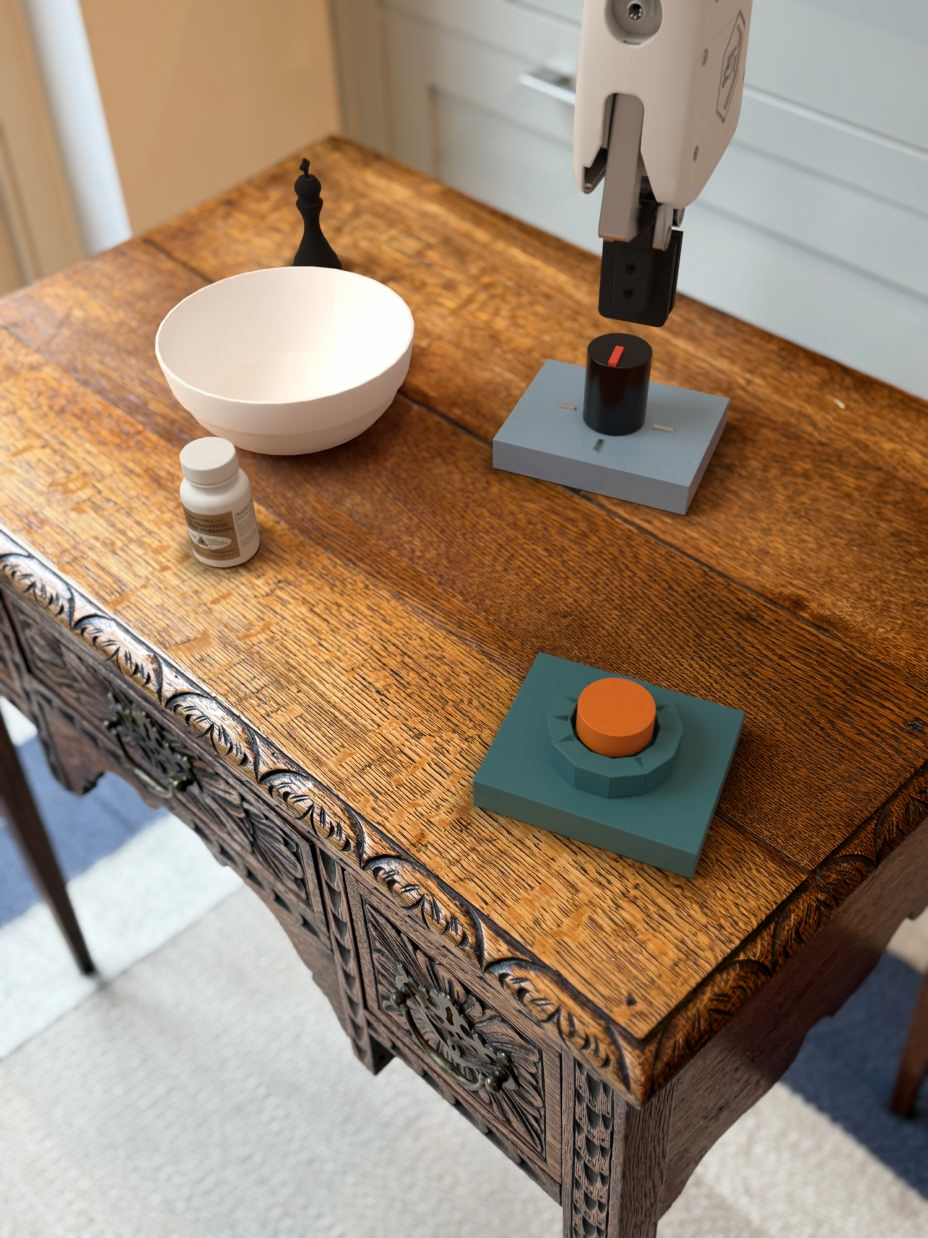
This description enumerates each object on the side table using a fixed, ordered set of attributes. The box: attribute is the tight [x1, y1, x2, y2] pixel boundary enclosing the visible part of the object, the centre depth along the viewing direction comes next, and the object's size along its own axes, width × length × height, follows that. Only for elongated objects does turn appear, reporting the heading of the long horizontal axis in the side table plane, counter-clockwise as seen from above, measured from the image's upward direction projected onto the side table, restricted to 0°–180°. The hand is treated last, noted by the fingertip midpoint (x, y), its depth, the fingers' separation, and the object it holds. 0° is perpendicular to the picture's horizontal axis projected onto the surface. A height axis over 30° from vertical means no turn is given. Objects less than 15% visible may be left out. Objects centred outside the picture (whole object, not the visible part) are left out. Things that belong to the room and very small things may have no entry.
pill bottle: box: [179, 436, 261, 568], centre depth 75 cm, size 4×4×8 cm
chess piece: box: [291, 157, 343, 270], centre depth 100 cm, size 4×4×10 cm
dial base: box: [492, 358, 731, 516], centre depth 84 cm, size 14×11×3 cm
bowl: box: [154, 266, 416, 456], centre depth 86 cm, size 18×18×7 cm
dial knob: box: [583, 332, 654, 436], centre depth 81 cm, size 4×4×6 cm
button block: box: [472, 651, 746, 880], centre depth 63 cm, size 12×10×4 cm
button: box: [576, 678, 656, 757], centre depth 61 cm, size 4×4×2 cm
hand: (635, 313), depth 55 cm, fingers closed
